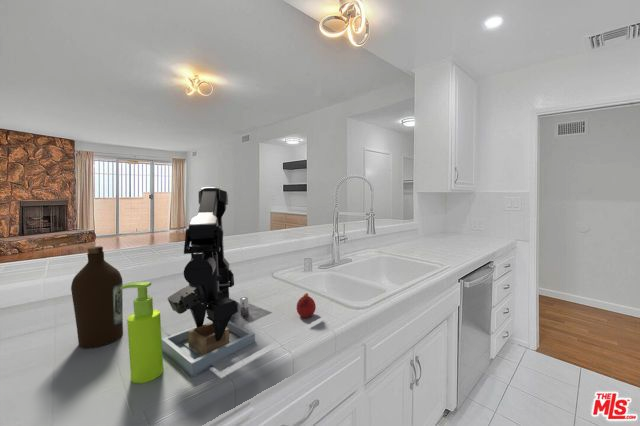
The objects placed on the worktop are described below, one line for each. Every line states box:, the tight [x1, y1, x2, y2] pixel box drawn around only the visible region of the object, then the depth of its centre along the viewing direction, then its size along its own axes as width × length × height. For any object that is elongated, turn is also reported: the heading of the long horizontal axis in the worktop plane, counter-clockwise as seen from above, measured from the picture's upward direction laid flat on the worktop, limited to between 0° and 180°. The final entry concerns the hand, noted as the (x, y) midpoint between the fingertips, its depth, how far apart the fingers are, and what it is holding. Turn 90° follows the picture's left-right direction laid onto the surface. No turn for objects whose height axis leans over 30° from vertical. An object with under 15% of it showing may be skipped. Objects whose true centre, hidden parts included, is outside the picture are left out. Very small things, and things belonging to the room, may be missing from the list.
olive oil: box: [70, 245, 124, 349], centre depth 74 cm, size 11×11×25 cm
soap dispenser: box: [120, 281, 164, 384], centre depth 59 cm, size 6×7×20 cm
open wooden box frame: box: [188, 322, 230, 356], centre depth 70 cm, size 7×7×4 cm
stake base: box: [230, 296, 273, 327], centre depth 87 cm, size 12×12×6 cm
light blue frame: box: [162, 320, 256, 378], centre depth 70 cm, size 16×16×3 cm
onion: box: [296, 292, 316, 319], centre depth 85 cm, size 6×6×8 cm
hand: (208, 334), depth 70 cm, fingers open, 9 cm apart
